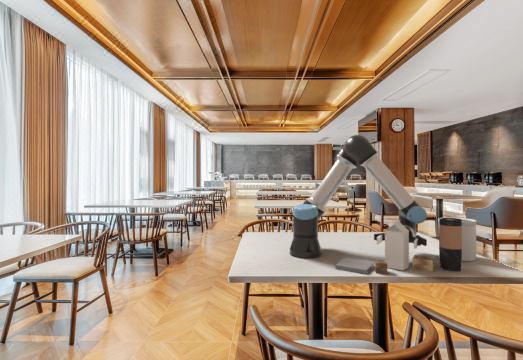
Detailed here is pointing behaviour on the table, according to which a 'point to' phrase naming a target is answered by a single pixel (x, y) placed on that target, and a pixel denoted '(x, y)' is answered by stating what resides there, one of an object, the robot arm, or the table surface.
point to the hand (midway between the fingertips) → (395, 242)
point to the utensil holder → (468, 239)
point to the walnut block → (380, 267)
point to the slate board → (355, 266)
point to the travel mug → (450, 243)
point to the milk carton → (397, 246)
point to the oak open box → (423, 263)
